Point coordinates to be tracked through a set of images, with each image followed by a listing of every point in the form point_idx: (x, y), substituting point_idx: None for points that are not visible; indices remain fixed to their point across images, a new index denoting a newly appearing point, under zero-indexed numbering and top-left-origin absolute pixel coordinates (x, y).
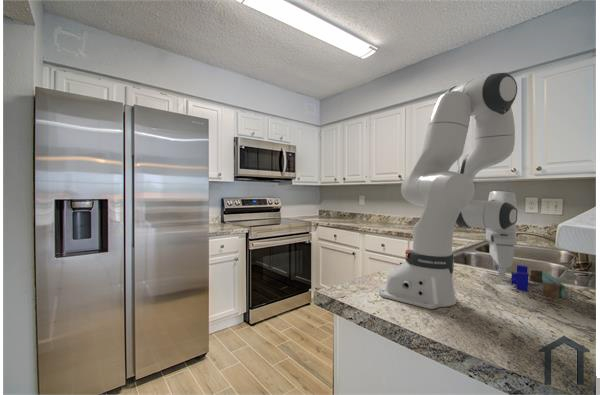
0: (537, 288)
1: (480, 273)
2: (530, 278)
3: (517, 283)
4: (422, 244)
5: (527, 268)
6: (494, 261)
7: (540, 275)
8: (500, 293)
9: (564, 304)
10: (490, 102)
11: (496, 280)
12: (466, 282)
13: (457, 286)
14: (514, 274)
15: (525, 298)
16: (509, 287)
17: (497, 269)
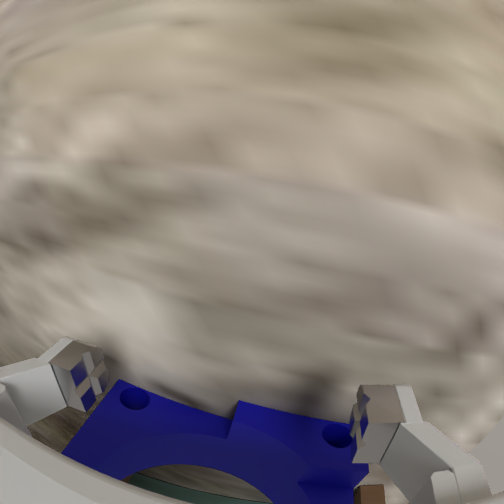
0: (215, 473)
1: (489, 233)
2: (361, 496)
3: (98, 408)
4: None
5: None
6: (431, 462)
7: None
8: (10, 263)
9: (64, 441)
10: None
11: (291, 328)
12: (101, 58)
13: (18, 35)
14: (300, 474)
15: (24, 352)
16: (138, 359)
17: (357, 412)
